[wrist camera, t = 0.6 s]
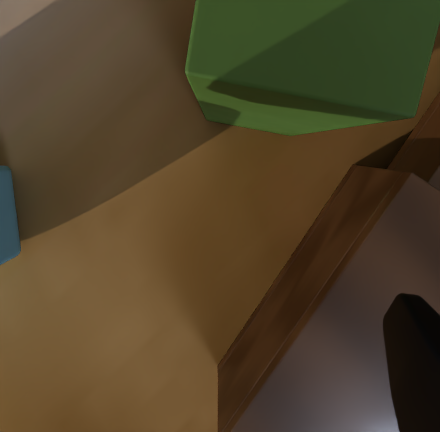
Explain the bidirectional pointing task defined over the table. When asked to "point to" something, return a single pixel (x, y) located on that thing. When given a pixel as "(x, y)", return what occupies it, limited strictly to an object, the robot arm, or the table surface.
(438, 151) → the drawer
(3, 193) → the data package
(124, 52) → the table surface
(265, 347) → the cabinet
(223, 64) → the green beveled box
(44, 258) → the table surface
